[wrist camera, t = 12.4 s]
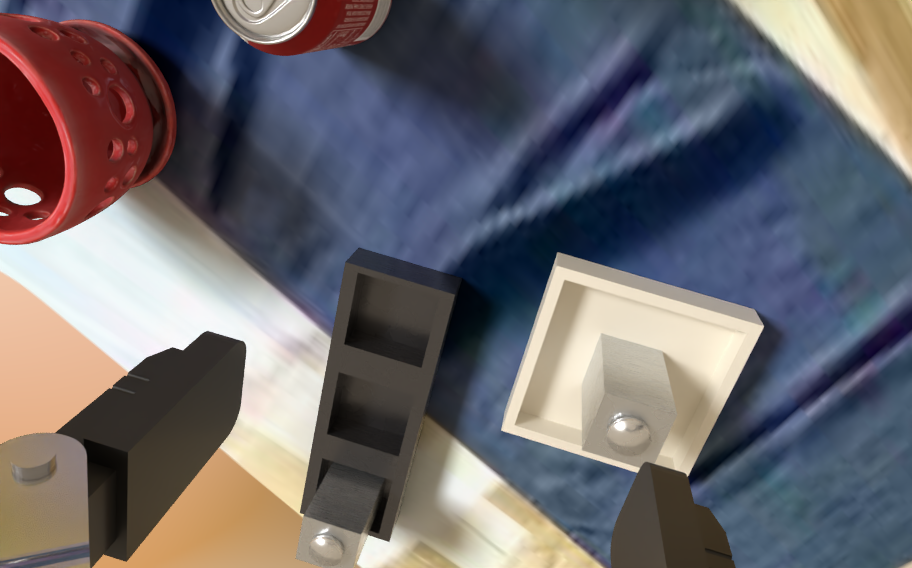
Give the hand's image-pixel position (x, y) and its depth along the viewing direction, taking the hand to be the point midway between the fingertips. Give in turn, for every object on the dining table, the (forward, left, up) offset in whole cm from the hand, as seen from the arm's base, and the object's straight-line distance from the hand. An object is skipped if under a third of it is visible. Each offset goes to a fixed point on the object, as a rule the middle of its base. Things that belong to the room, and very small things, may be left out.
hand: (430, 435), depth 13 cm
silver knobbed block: (-11, +15, -33) cm, 37 cm away
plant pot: (+30, +7, -33) cm, 45 cm away
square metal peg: (+6, +32, -33) cm, 46 cm away
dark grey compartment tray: (+6, +24, -33) cm, 41 cm away
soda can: (+14, -5, -33) cm, 37 cm away
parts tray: (-11, +15, -33) cm, 38 cm away
